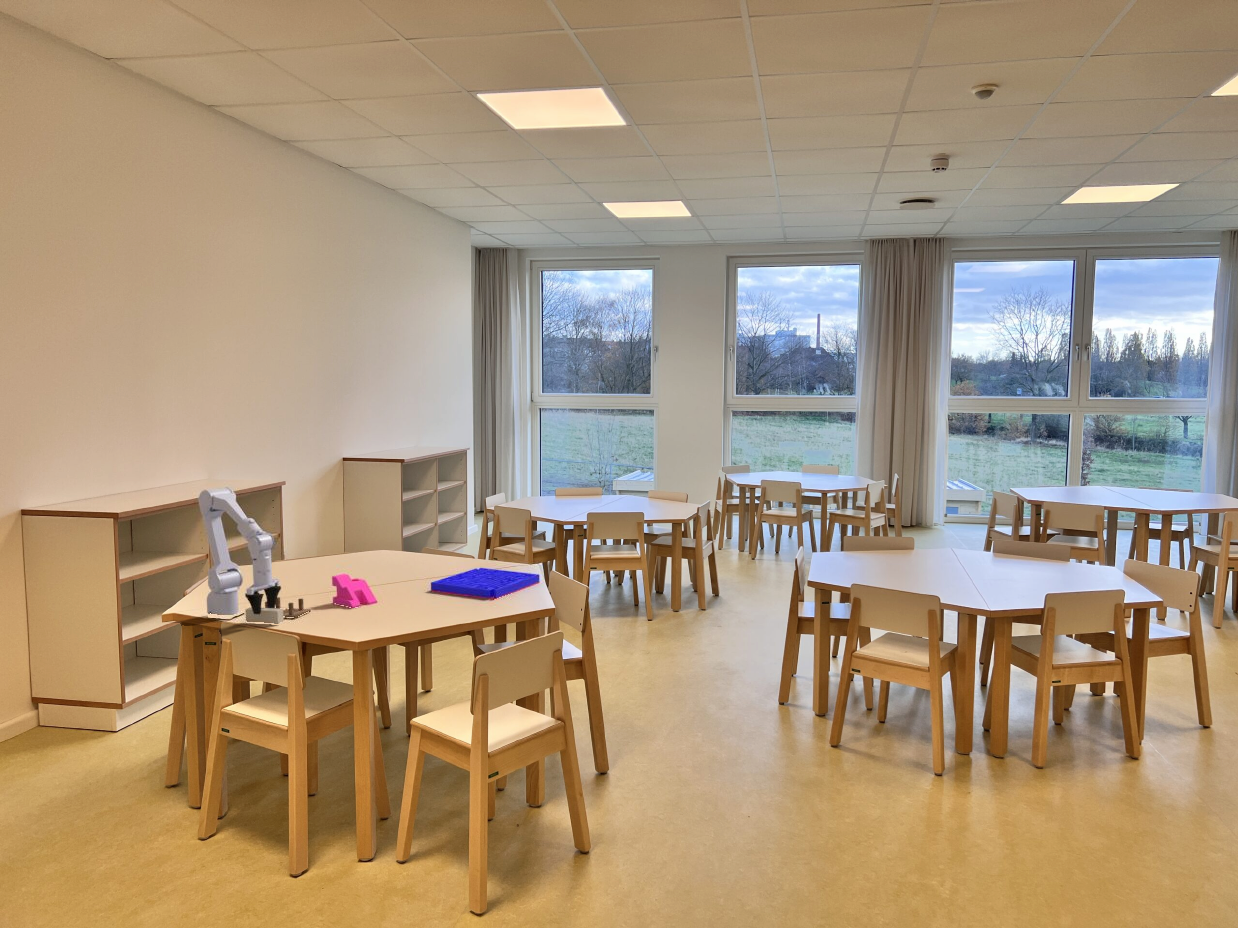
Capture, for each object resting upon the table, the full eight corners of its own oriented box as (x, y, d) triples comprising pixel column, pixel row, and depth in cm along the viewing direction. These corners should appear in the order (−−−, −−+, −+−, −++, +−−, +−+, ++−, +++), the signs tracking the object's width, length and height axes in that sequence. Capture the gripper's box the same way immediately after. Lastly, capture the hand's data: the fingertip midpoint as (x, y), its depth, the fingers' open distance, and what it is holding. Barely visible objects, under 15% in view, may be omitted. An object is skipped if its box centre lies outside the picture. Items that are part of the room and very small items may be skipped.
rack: (258, 616, 283) (257, 602, 282) (274, 610, 292) (274, 596, 291) (295, 618, 280) (294, 604, 279) (310, 612, 289) (309, 597, 288)
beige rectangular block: (246, 624, 275) (245, 609, 274) (251, 621, 278) (251, 607, 277) (278, 626, 272) (277, 611, 272) (283, 623, 275) (283, 608, 275)
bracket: (333, 604, 300) (331, 576, 299) (357, 598, 308) (356, 571, 307) (353, 609, 293) (351, 580, 292) (377, 603, 301) (376, 575, 300)
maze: (431, 592, 318) (430, 582, 318) (479, 576, 344) (478, 567, 344) (494, 601, 304) (494, 590, 304) (539, 584, 330) (539, 574, 330)
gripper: (259, 575, 266) (261, 617, 267) (286, 566, 280) (288, 605, 281) (239, 574, 267) (242, 616, 268) (267, 565, 281) (269, 604, 282)
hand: (264, 610), depth 275 cm, fingers open, 7 cm apart
